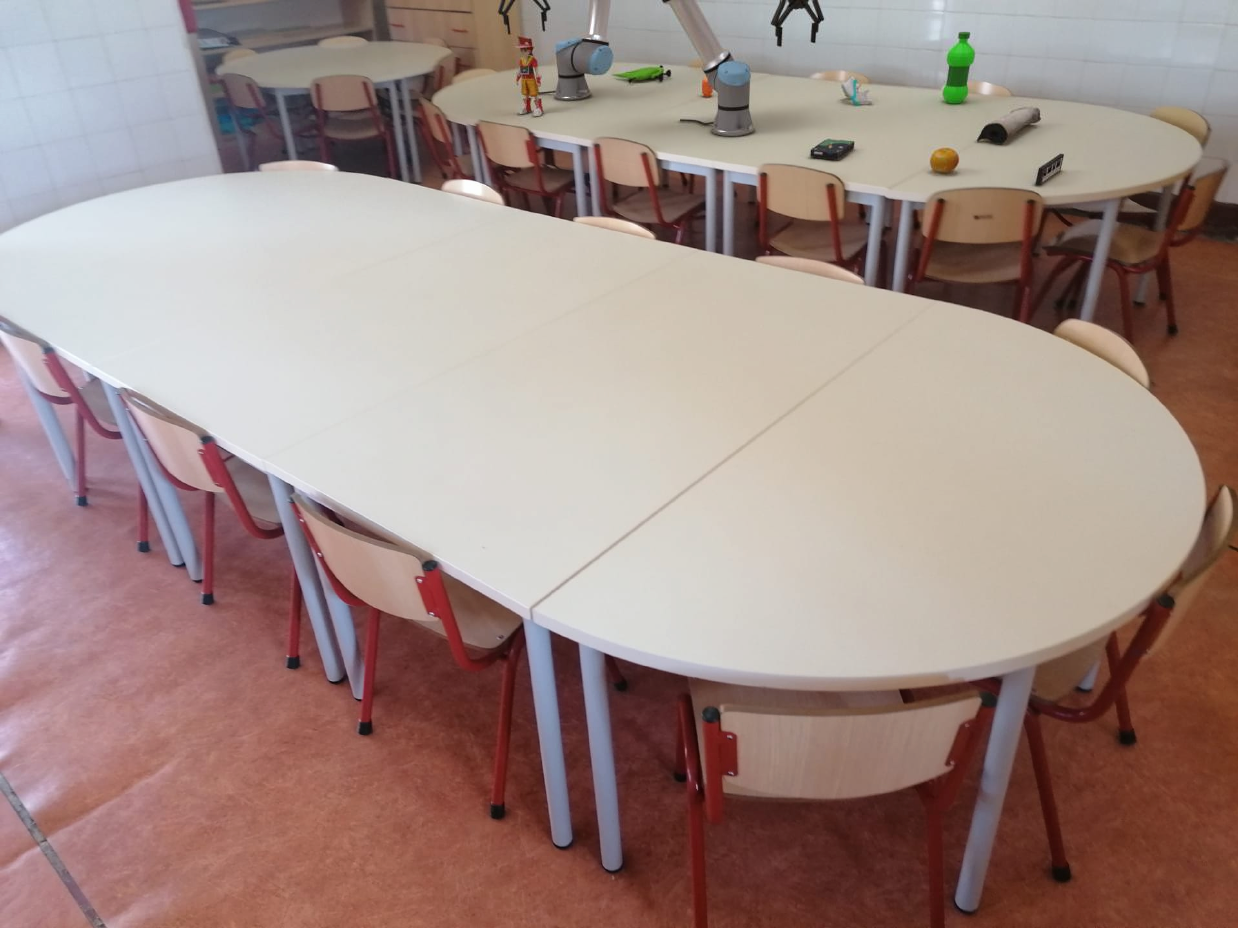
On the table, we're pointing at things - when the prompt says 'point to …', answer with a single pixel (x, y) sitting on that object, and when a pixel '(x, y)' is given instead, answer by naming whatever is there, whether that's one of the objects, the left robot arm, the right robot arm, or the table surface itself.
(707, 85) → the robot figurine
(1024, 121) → the rolled mat
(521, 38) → the toy
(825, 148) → the disk drive
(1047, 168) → the midi keyboard
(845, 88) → the anatomical model
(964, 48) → the plastic bottle
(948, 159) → the fruit
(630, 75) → the toy
